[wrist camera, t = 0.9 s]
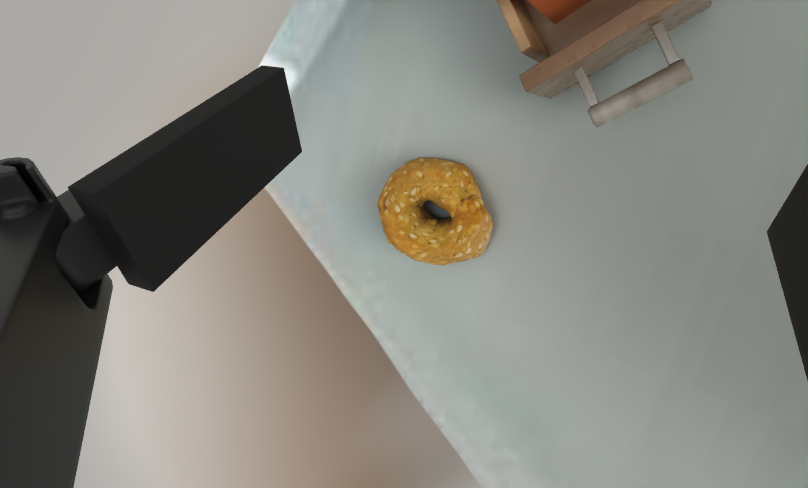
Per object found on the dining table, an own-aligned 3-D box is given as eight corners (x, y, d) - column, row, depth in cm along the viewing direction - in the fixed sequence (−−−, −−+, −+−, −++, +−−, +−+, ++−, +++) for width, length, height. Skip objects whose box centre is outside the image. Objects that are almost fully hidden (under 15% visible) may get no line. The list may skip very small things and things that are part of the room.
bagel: (462, 286, 45) (440, 300, 41) (380, 218, 48) (352, 225, 44) (521, 201, 40) (502, 208, 36) (425, 134, 44) (399, 133, 40)
